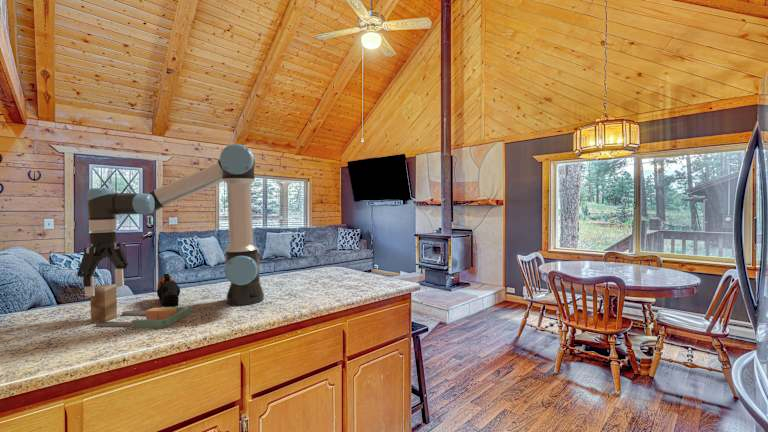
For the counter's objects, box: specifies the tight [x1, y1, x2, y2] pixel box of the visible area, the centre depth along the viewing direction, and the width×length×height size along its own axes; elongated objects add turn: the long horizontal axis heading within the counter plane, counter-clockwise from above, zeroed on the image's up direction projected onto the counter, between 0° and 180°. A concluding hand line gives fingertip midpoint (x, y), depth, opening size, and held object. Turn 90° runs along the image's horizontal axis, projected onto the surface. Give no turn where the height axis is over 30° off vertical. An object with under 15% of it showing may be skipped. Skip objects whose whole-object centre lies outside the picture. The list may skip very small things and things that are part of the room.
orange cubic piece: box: [145, 307, 163, 320], centre depth 127 cm, size 4×4×4 cm
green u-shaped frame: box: [131, 306, 192, 329], centre depth 127 cm, size 11×16×2 cm
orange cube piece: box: [158, 308, 176, 320], centre depth 127 cm, size 4×4×4 cm
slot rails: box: [95, 310, 147, 328], centre depth 127 cm, size 12×14×1 cm
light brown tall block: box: [89, 283, 118, 323], centre depth 127 cm, size 5×6×12 cm
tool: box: [156, 273, 181, 307], centre depth 147 cm, size 8×23×15 cm, turn 36°
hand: (105, 290), depth 126 cm, fingers open, 13 cm apart
